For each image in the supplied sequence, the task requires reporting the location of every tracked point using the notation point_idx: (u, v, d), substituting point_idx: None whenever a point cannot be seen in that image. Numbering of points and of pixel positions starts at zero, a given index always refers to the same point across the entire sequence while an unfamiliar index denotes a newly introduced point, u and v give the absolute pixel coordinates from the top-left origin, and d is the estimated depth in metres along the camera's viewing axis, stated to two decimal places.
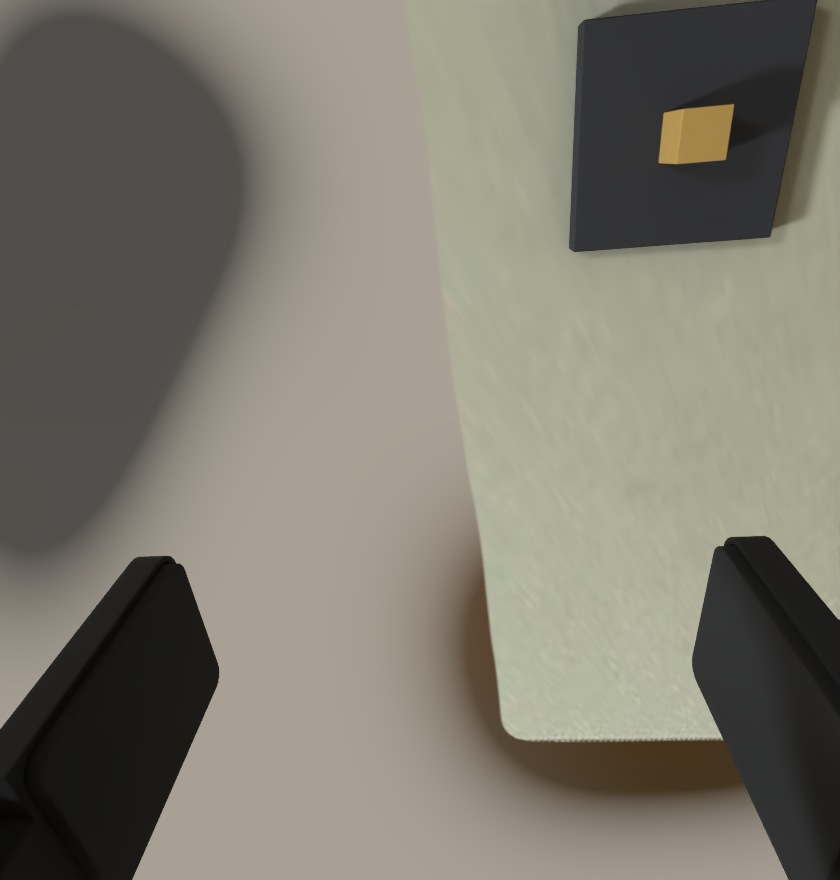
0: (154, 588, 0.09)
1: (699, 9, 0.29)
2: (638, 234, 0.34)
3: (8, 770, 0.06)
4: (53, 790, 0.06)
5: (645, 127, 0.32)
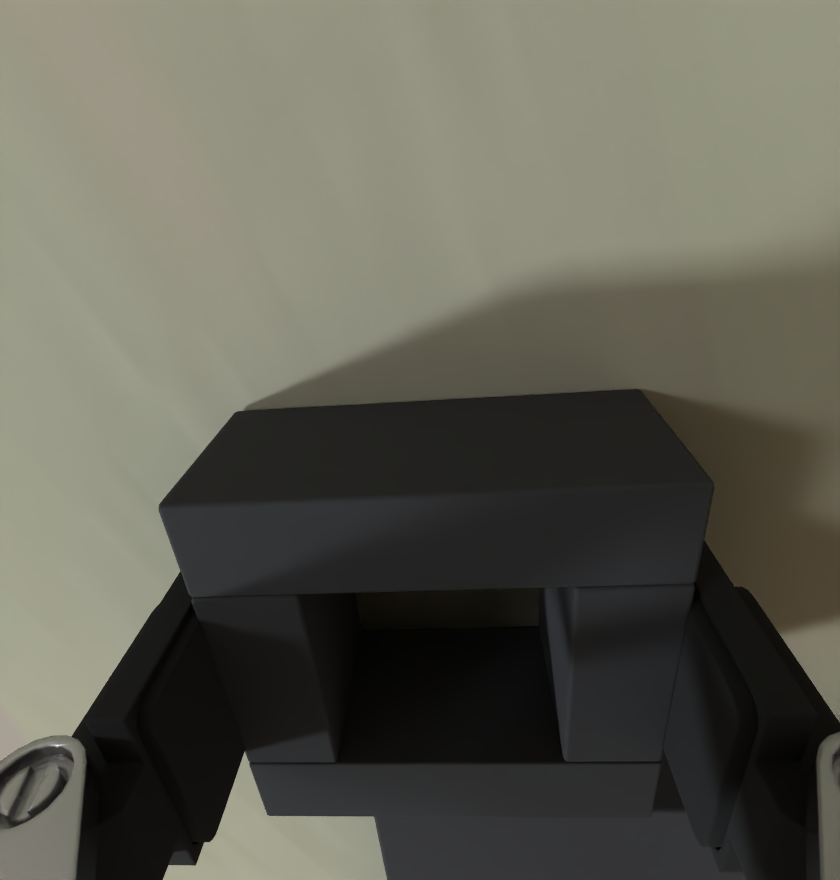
0: None
1: None
2: None
3: (125, 715, 0.07)
4: (161, 736, 0.07)
5: None
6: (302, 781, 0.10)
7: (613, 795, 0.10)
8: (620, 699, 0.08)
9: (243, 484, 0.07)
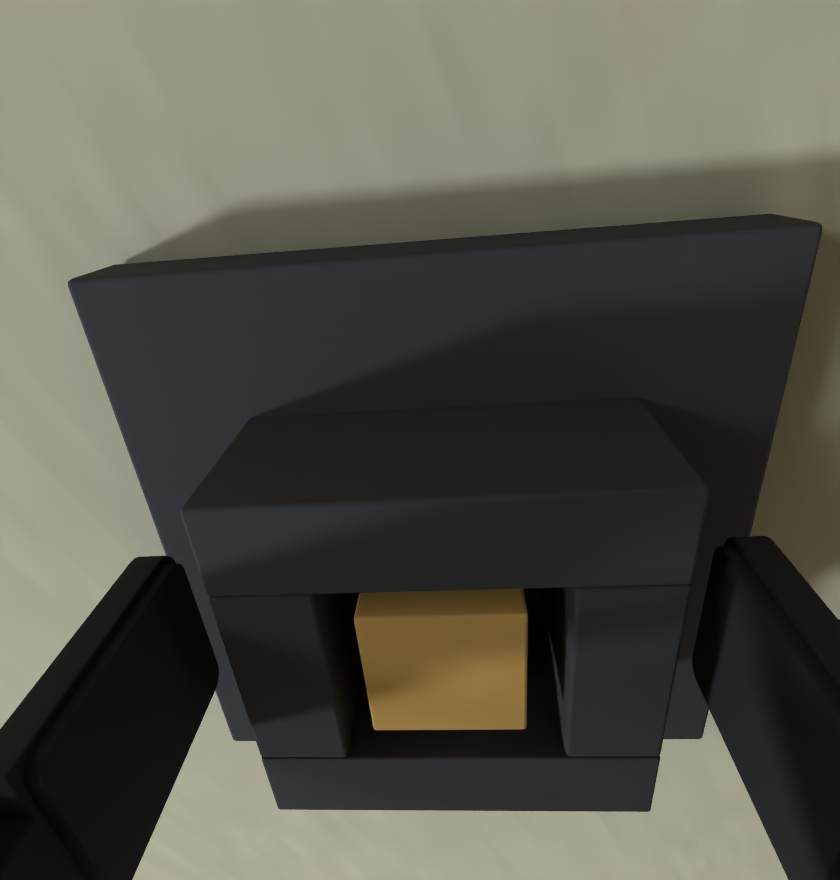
0: (154, 588, 0.09)
1: (424, 260, 0.09)
2: None
3: (8, 770, 0.06)
4: (53, 790, 0.06)
5: None
6: (313, 775, 0.10)
7: (613, 789, 0.10)
8: (620, 695, 0.09)
9: (260, 488, 0.08)
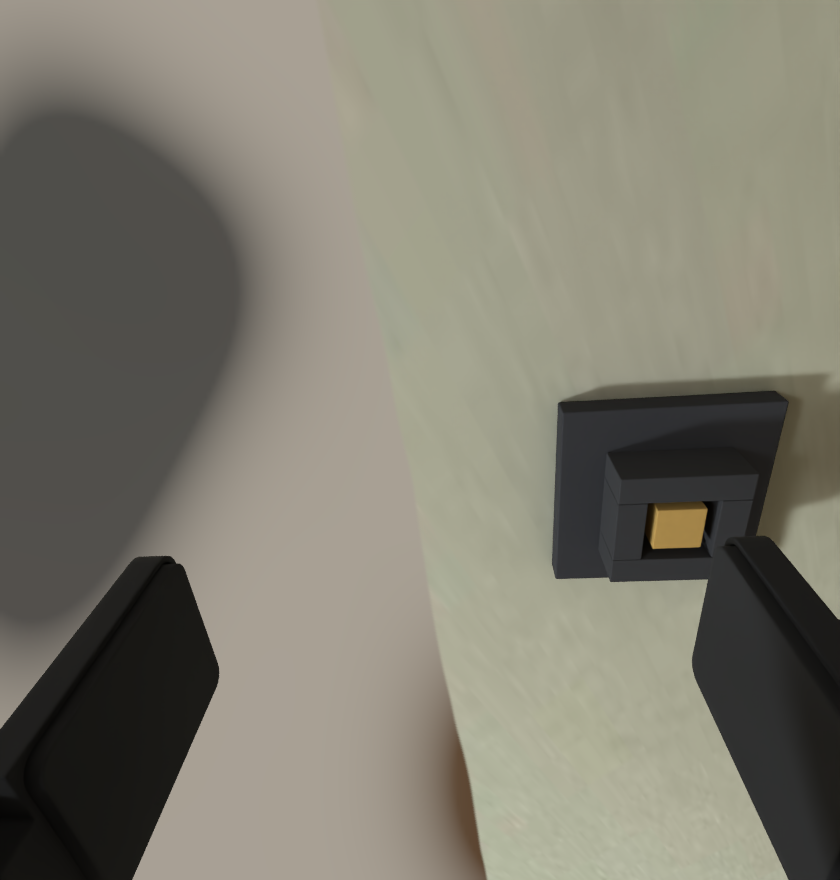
0: (154, 588, 0.09)
1: (674, 408, 0.30)
2: None
3: (8, 770, 0.06)
4: (53, 790, 0.06)
5: None
6: (627, 567, 0.32)
7: None
8: (730, 534, 0.30)
9: (638, 474, 0.29)
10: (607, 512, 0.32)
